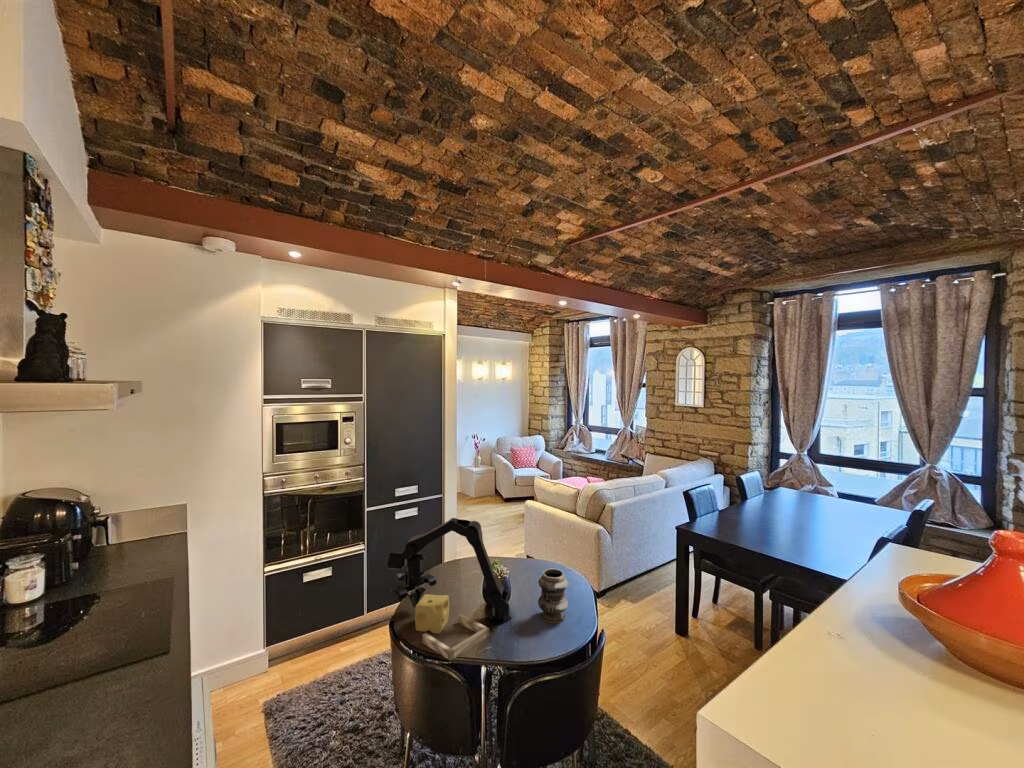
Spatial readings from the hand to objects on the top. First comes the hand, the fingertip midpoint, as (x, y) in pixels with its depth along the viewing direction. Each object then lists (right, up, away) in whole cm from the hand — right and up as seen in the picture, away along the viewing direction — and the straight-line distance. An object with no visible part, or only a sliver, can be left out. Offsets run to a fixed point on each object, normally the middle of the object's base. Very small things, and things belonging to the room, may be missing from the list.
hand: (414, 607), depth 178 cm
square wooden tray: (+19, -3, -17) cm, 25 cm away
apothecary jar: (+56, -3, -2) cm, 57 cm away
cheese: (+9, -3, -8) cm, 12 cm away
